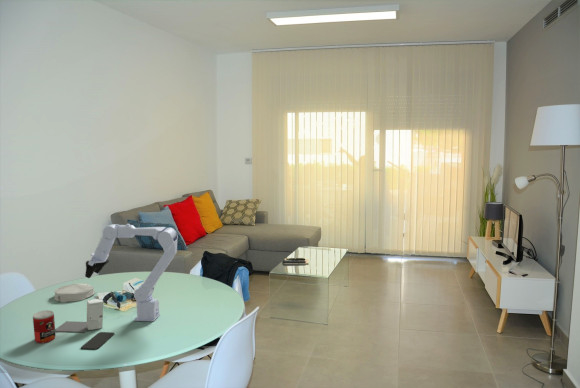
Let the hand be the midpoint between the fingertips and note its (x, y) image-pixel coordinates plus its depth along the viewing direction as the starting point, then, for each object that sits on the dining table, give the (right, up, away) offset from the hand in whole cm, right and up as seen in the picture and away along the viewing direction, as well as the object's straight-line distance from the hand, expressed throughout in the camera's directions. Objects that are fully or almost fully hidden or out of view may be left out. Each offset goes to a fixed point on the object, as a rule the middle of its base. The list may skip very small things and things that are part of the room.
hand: (91, 274), depth 206 cm
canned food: (-11, -24, -19) cm, 32 cm away
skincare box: (+5, -22, -8) cm, 24 cm away
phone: (+12, -24, -21) cm, 34 cm away
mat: (-4, -22, -7) cm, 23 cm away
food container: (-23, -17, +32) cm, 43 cm away
